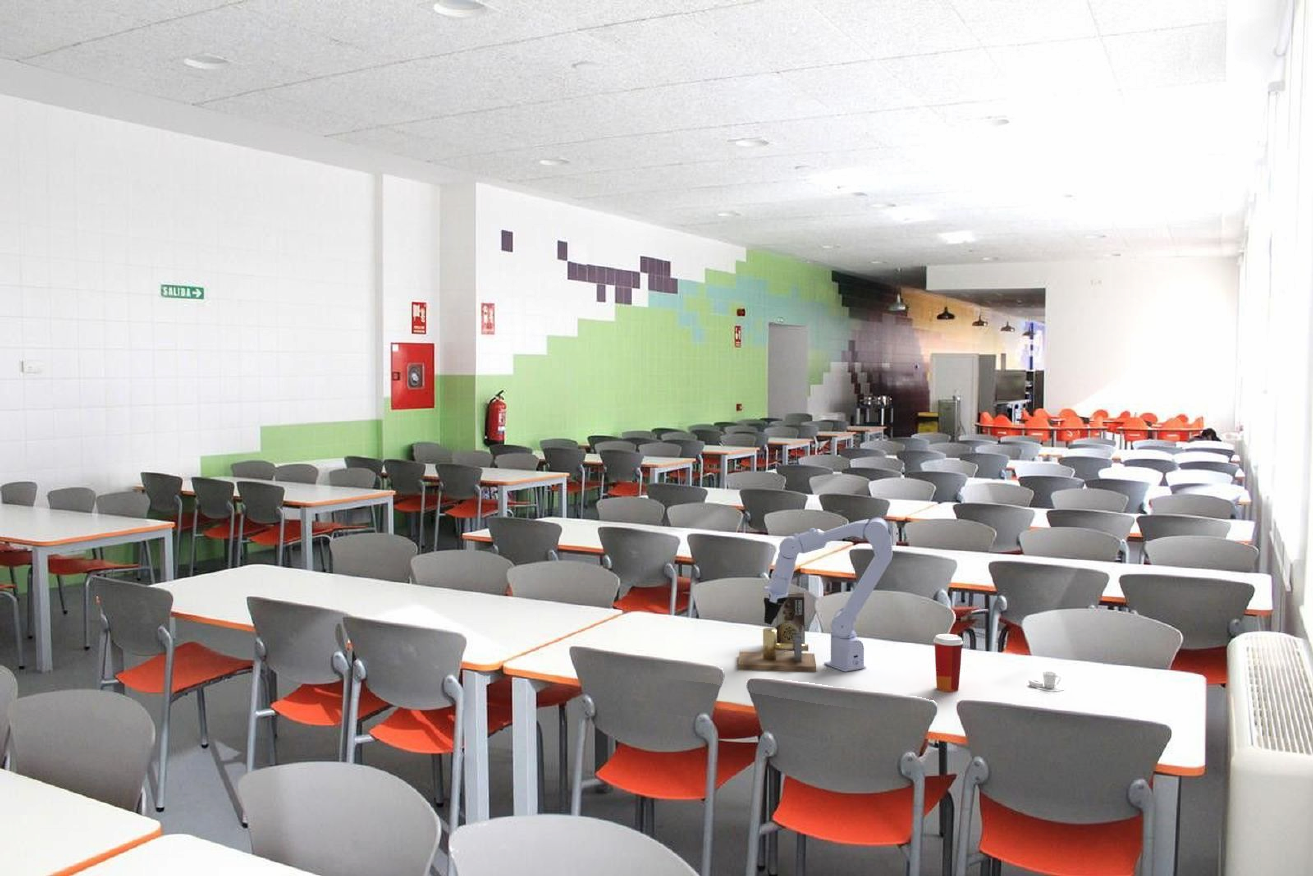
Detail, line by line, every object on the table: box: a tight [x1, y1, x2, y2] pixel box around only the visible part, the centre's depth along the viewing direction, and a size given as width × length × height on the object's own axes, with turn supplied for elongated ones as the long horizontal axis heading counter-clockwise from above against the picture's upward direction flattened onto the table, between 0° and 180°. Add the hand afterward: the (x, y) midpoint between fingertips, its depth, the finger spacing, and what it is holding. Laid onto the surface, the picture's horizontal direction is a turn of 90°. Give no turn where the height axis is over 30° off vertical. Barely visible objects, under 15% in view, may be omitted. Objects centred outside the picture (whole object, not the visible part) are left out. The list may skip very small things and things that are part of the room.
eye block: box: [737, 632, 817, 673], centre depth 300 cm, size 22×14×8 cm, turn 84°
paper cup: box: [932, 633, 964, 693], centre depth 275 cm, size 8×8×14 cm
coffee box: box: [774, 592, 806, 644], centre depth 320 cm, size 9×6×16 cm
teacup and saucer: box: [1028, 671, 1066, 692], centre depth 277 cm, size 9×8×4 cm
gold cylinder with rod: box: [762, 627, 809, 659], centre depth 299 cm, size 13×4×8 cm, turn 84°
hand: (769, 620), depth 303 cm, fingers open, 7 cm apart
